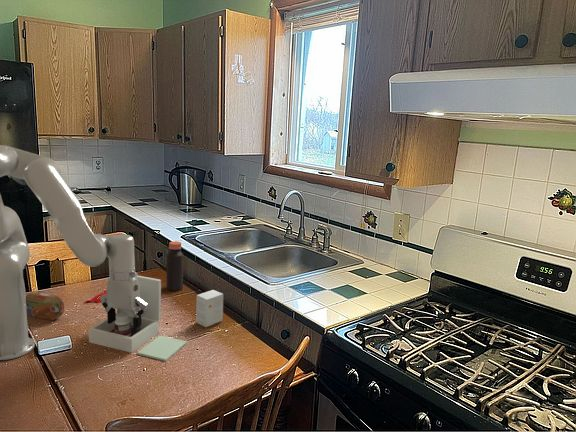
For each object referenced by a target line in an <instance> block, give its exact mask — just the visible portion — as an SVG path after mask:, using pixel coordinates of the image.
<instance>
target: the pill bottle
mask: <svg viewBox="0 0 576 432" xmlns="http://www.w3.org/2000/svg"><path fill="white" fill-rule="evenodd" d="M114 333H116V334H120V335H124V336H128V337H132V336H131V332H130V319H129V313H126V312H121V313H118V314H116V321H115V329H114Z"/></svg>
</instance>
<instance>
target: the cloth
mask: <svg viewBox="0 0 576 432" xmlns="http://www.w3.org/2000/svg"><path fill="white" fill-rule="evenodd" d="M102 293H103V291H102V292H101V294H100V293H99V294H97V295H95V296H93V297H92V298H91V299H89V300H85V301H84V302H83V305H85V304H88V302H90V303H94V302H95V303H97V304H100V303H101V304H102V302H101V300H100V297H101V296H103V295H105V294H107V289H106V290H104V293H103V294H102ZM99 296H100V297H99ZM98 297H99V298H98ZM97 298H98V299H97Z"/></svg>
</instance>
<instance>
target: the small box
mask: <svg viewBox="0 0 576 432" xmlns="http://www.w3.org/2000/svg"><path fill="white" fill-rule="evenodd" d="M195 305H196V306H195V308H196V310H195V311H196V312H195V314H196V316H195V317H196V318H195V322H196V324H199V325H200V326H202V327H205V328H207V327H210V326H213V325H215V324H218V323H220V322H223V315H224V293H222V292H219V291H217V290H215V289H211V290H208V291H205V292H202V293H199V294H197V295H196V304H195Z"/></svg>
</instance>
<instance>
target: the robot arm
mask: <svg viewBox="0 0 576 432" xmlns="http://www.w3.org/2000/svg"><path fill="white" fill-rule="evenodd" d="M61 170H62V169H61V167H60V165H59V164H58V163H57V161H55V160H54V159H52V158H51V157H48V156H45V155H40V154H37V153H33V152H30V151H26V150H23V149H19V148H17V147H13V146H9V145H4V144H0V178H2V177H4V176H8V177H13V178H16V179H20V180H24V181H25V183H26V184H27V187H28V188H30V189H31V191H32V193H33V194H34V196H35V197H36V198H37V199H38V200H39V202H40V203H41V204H42V206H43V207H44V208H45V209H46V211H47V213H48V214H49V216H50V217H51V218H52V220H53V222H54V224H55V226H56V228H57V229H58V231H59V234H61V237H62V239H63V241H64V242H65V243H66V245H67V246H68V248H69V249H70V250H71V251H72V253H73V254H74V256H75V257H76V258H77V259H78V260H79V261H80V263H82V264H83V265H85V266H87V267H91V268H92V267H94V268H95V267H97V266H100V265H101V264H103V263H104V262H105V260H106V258H108V269H109V271H108V273H109V277H108V278H107V284H106V285H107V286H106V290H107V294H105V295H103V296H101V297H100V300H101V305H102V307H103V308H104V311H105V312H106V313H107V314H106V316H107V318H106V319H108V324H110V323H112V322H114V321H115V320H116V313H117V309H121V310H126V311H131V312H132V314H133V315H134V316H135V317H133V328H134V329H137V328H138V327H140V326H141V315H142V314H143V313H144V312H145V311H146V309H147V307H148V304H147V303H146V302H144V301H143V300H142V299H141V291H140V285H139V281H138V278H136V277H137V276H139V275H138V274H139V273H138V272H136V261H135V240H134V237H133V236H132V235H129V234H125V233H122V234H121V233H120V234H115V235H110V234H100V233H99V234H98V233H94V232H93V231H92V229H91V228H90V226H89V224H88V222H87V220H86V217H85V215H84V210H83V207H82V205H81V201H79V199H78V198H77V196H76V195H75V194H74V192H73V191H72V190H71V188H70V186H69V185H68V183H67V182H66V181H65V179H64V178H63V177H62V175H61V173H62V171H61ZM26 237H27V236H26V235H25V230H24V228H23V224H22V222H21V219H20V217H19V215H18V214H17V212H16V211H15V210H14V209H12V208H11V207H9V206H7V205H4V202H3V199H2V195H1V193H0V361H7V360H13V359H16V358H19V357H22V356H25V355H26V354H29V353H30V352H31V351H32V350H33V349H34V348H35V347H36V346H35V340H34V339H33V338H31V337H29V329H28V314H27V308H26V296H27V295H26V294H27V293H26V287H25V280H24V268H25V266H26V265H27V264H28V262H29V260H30V254H31V253H30V247H29V245H28V241H27V238H26ZM139 306H141V309H140V307H139ZM135 309H136V310H137V312H136V310H135Z"/></svg>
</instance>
